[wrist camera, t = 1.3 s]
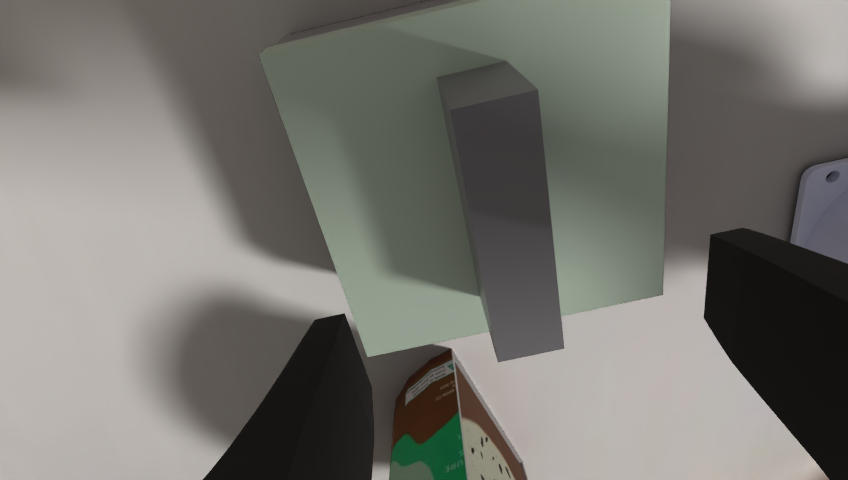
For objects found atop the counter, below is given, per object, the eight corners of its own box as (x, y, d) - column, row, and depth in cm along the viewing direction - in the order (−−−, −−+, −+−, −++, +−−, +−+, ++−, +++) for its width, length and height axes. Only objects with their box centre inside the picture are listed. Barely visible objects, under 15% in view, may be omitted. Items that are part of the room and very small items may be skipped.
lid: (638, -47, 14) (751, -44, 9) (639, 265, 18) (714, 357, 14) (272, 42, 14) (225, 82, 10) (368, 323, 19) (364, 429, 15)
